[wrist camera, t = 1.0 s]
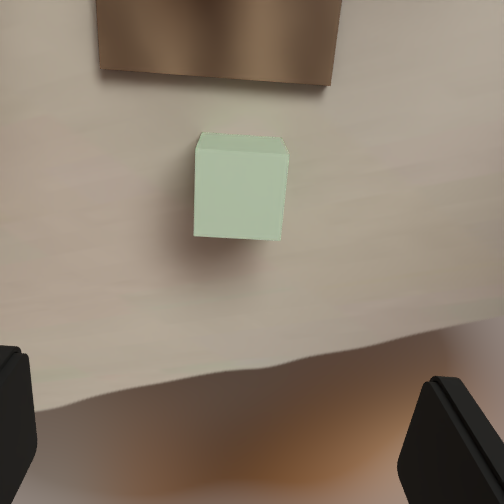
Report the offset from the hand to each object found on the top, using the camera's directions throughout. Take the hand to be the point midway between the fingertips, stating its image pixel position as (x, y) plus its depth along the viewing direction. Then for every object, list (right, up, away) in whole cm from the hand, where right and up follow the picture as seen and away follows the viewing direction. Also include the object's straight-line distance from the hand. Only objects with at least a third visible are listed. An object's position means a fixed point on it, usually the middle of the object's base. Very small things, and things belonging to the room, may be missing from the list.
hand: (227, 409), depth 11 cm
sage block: (0, +10, +25) cm, 27 cm away
